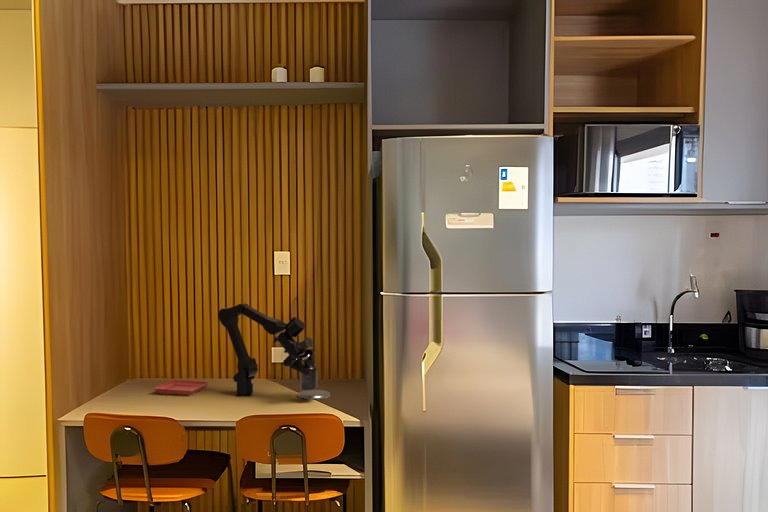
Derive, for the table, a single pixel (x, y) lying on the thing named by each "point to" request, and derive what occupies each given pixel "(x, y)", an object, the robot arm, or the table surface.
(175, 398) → the table surface
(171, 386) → the plant saucer
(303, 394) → the rosette plate
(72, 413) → the table surface
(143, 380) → the table surface
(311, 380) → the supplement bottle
